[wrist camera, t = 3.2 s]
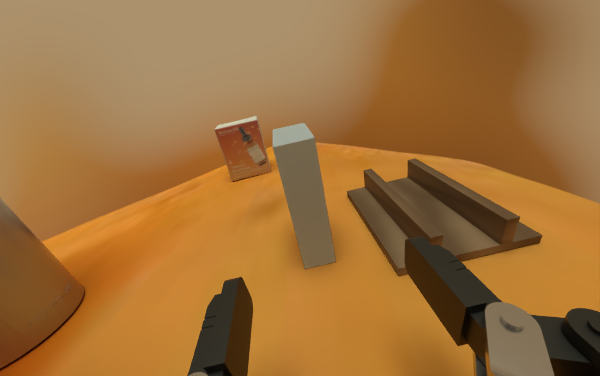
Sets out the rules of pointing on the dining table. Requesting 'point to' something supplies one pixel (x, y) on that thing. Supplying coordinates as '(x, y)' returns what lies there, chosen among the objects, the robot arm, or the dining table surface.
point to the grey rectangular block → (304, 193)
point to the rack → (435, 216)
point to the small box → (243, 148)
